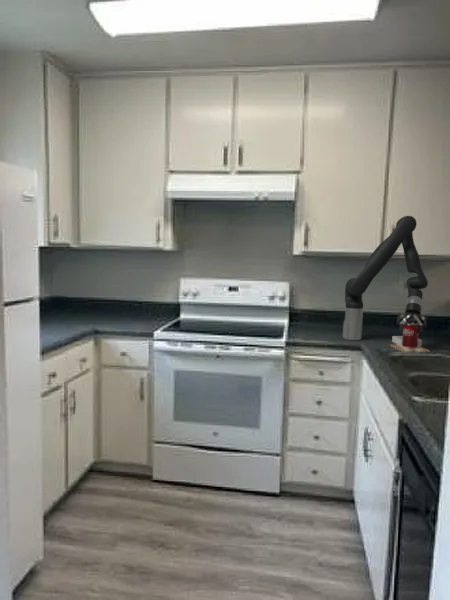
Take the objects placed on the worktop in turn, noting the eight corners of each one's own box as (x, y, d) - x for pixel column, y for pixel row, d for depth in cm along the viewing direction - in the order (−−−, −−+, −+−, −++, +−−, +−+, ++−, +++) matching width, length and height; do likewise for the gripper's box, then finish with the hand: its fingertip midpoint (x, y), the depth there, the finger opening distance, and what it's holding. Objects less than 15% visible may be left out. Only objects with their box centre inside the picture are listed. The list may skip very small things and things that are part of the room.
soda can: (409, 349, 241) (410, 325, 240) (398, 346, 248) (400, 322, 246) (420, 348, 244) (422, 324, 242) (409, 345, 250) (411, 322, 249)
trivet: (402, 352, 238) (402, 350, 238) (389, 346, 252) (390, 344, 252) (429, 352, 239) (429, 350, 239) (416, 346, 253) (416, 344, 253)
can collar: (401, 345, 253) (401, 340, 253) (392, 341, 264) (392, 336, 264) (421, 346, 254) (422, 340, 254) (411, 341, 265) (412, 336, 265)
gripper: (399, 301, 253) (395, 326, 244) (428, 303, 247) (425, 329, 238) (399, 310, 259) (395, 334, 250) (428, 312, 253) (425, 337, 244)
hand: (410, 332), depth 244 cm, fingers open, 8 cm apart
